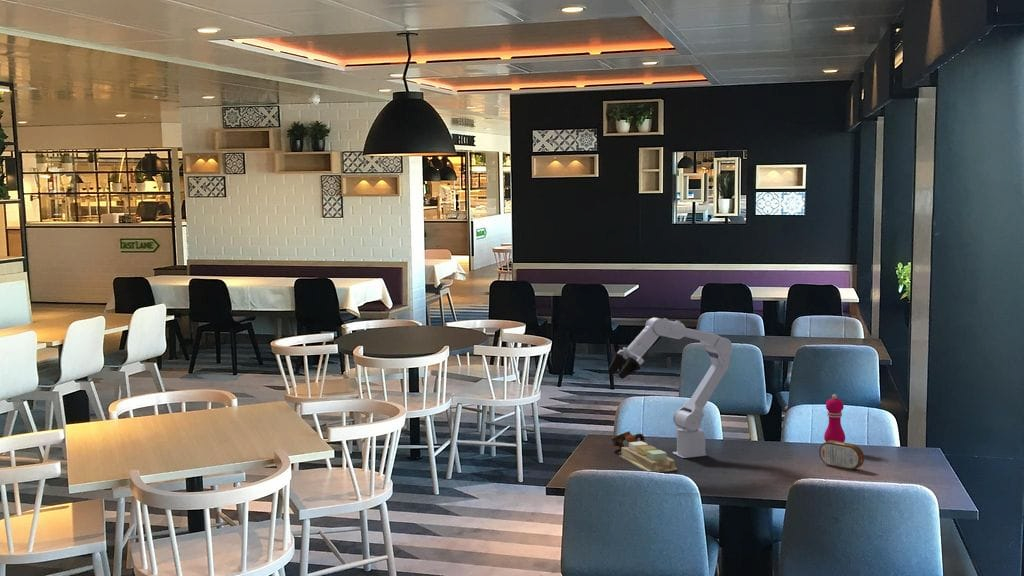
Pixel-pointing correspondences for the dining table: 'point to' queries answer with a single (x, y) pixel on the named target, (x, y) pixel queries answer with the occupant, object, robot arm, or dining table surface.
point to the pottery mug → (626, 436)
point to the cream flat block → (645, 449)
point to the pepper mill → (834, 420)
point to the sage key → (656, 455)
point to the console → (647, 461)
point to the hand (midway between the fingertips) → (614, 374)
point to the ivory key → (636, 445)
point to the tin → (841, 455)
